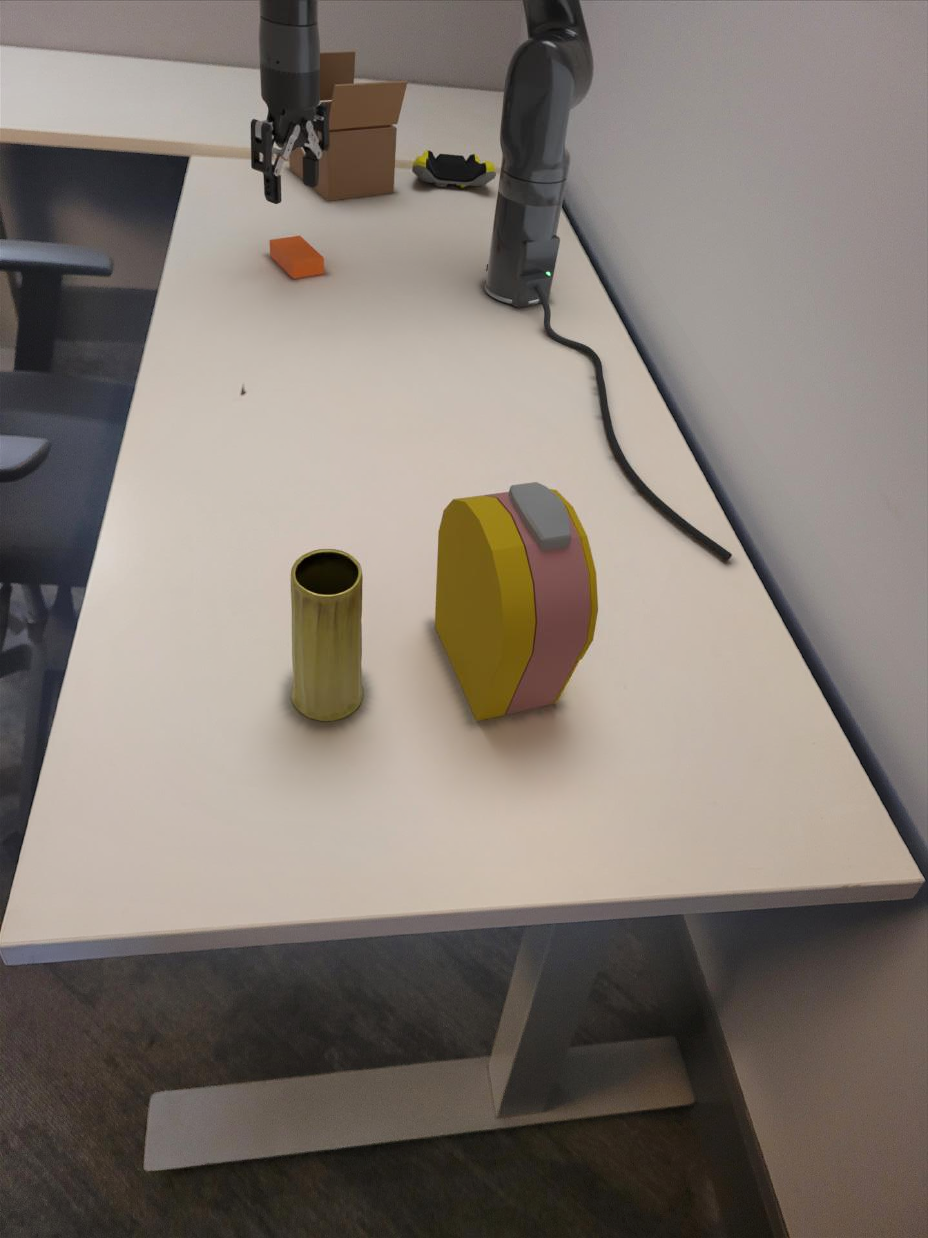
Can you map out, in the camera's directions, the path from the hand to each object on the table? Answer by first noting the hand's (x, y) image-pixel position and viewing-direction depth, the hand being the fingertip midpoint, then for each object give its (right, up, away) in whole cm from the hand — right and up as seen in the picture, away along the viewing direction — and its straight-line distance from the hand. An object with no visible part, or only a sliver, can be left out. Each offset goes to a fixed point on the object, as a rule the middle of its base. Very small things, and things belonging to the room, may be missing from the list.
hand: (292, 193), depth 120 cm
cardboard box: (+2, +19, +33) cm, 37 cm away
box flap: (+8, +23, +17) cm, 30 cm away
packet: (-1, -7, +8) cm, 10 cm away
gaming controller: (+22, +20, +37) cm, 48 cm away
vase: (+12, -66, -47) cm, 82 cm away
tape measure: (+27, -64, -42) cm, 81 cm away
